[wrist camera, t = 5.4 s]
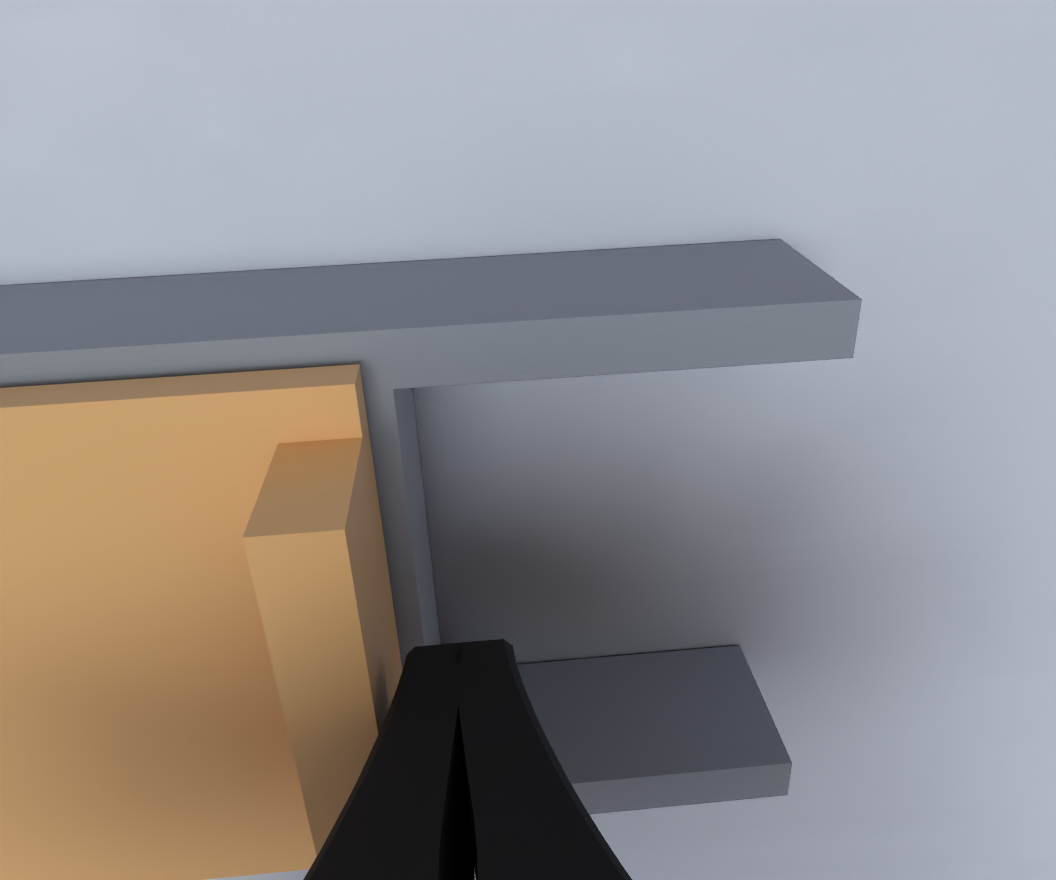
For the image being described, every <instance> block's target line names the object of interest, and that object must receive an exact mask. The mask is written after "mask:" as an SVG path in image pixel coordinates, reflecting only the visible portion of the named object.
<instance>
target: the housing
mask: <svg viewBox="0 0 1056 880" xmlns="http://www.w3.org/2000/svg"><path fill="white" fill-rule="evenodd" d="M861 301H862V299H861V298H859V297H858V296H857V295H855V294H854V293H853V292H851V291H850V290H849V289H847V288H846V287H844V286H843V285H842V284H840V283H839V282H838V281H836V280H835V279H834V278H832V277H831V276H830V275H828V274H827V273H826V272H824V271H823V270H821V269H820V268H819V267H817V266H816V265H815V264H813V263H812V262H811V261H809V260H808V259H807V258H805V257H804V256H803V255H801V254H800V253H799V252H797V251H796V250H794V249H793V248H792V247H790V246H789V245H788V244H786V243H785V242H784V241H782V240H781V239H774V240H757V241H740V242H723V243H707V244H690V245H673V246H656V247H640V248H623V249H606V250H589V251H573V252H556V253H539V254H522V255H506V256H489V257H472V258H456V259H439V260H422V261H405V262H389V263H372V264H355V265H338V266H322V267H305V268H288V269H271V270H255V271H238V272H221V273H204V274H188V275H171V276H154V277H137V278H121V279H104V280H87V281H70V282H54V283H37V284H20V285H4V286H0V388H8V387H23V386H38V385H53V384H69V383H84V382H99V381H114V380H129V379H144V378H159V377H174V376H189V375H205V374H220V373H235V372H250V371H265V370H280V369H295V368H310V367H325V366H341V365H356V364H360V371H361V379H362V386H363V393H364V400H365V407H366V414H367V421H368V429H369V436H370V443H371V450H372V457H373V464H374V471H375V479H376V486H377V493H378V500H379V507H380V514H381V521H382V529H383V536H384V543H385V550H386V557H387V564H388V571H389V579H390V586H391V593H392V600H393V607H394V614H395V621H396V629H397V636H398V643H399V650H400V657H401V664H402V670H403V667H404V663H405V659H406V655H407V654H408V653H409V652H410V651H411V650H412V649H413V648H414V647H416V646H428V645H440V644H441V643H440V634H439V625H438V616H437V607H436V598H435V589H434V580H433V571H432V562H431V553H430V544H429V535H428V526H427V517H426V507H425V498H424V489H423V480H422V471H421V462H420V453H419V444H418V435H417V426H416V417H415V408H414V399H413V390H412V388H417V387H432V386H447V385H461V384H476V383H491V382H506V381H520V380H535V379H550V378H564V377H579V376H594V375H609V374H623V373H638V372H653V371H667V370H682V369H697V368H712V367H726V366H741V365H756V364H771V363H785V362H800V361H815V360H829V359H844V358H853V354H854V347H855V340H856V334H857V327H858V321H859V314H860V307H861ZM517 666H518V670H519V673H520V676H521V679H522V682H523V684H524V687H525V690H526V692H527V695H528V697H529V700H530V702H531V704H532V707H533V709H534V711H535V714H536V716H537V718H538V720H539V723H540V725H541V727H542V729H543V731H544V733H545V735H546V737H547V739H548V741H549V743H550V745H551V747H552V749H553V751H554V753H555V755H556V756H557V758H558V760H559V762H560V764H561V766H562V768H563V770H564V772H565V774H566V776H567V777H568V779H569V781H570V783H571V784H572V786H573V788H574V790H575V792H576V793H577V795H578V797H579V798H580V800H581V802H582V803H583V805H584V807H585V808H586V810H587V812H588V813H589V814H597V813H607V812H617V811H628V810H638V809H648V808H659V807H669V806H679V805H690V804H700V803H710V802H721V801H731V800H742V799H752V798H762V797H773V796H783V795H787V793H788V786H789V780H790V773H791V766H792V762H791V760H790V757H789V755H788V753H787V751H786V748H785V746H784V744H783V742H782V739H781V737H780V735H779V733H778V730H777V728H776V726H775V724H774V721H773V719H772V717H771V715H770V713H769V710H768V708H767V706H766V704H765V701H764V699H763V697H762V695H761V692H760V690H759V688H758V686H757V683H756V681H755V679H754V677H753V674H752V672H751V670H750V668H749V665H748V663H747V661H746V659H745V657H744V654H743V652H742V650H741V648H740V645H738V646H726V647H715V648H703V649H692V650H680V651H669V652H657V653H645V654H634V655H622V656H611V657H599V658H588V659H576V660H564V661H553V662H541V663H530V664H518V665H517ZM308 871H309V869H308V870H297V871H287V872H277V873H267V874H257V875H247V876H236V877H226V878H216V879H206V880H303V879H304V877H305V876H306V874H307V872H308Z"/></svg>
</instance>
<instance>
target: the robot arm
mask: <svg viewBox="0 0 1056 880" xmlns="http://www.w3.org/2000/svg"><path fill="white" fill-rule="evenodd" d="M474 872H475V873H476V880H632V879H631V878H630V876H629V875H628V873H627V872H626V870H625V869H624V868H623V866H622V865H621V863H620V862H619V860H618V859H617V857H616V856H615V854H614V853H613V851H612V850H611V848H610V847H609V845H608V844H607V842H606V841H605V839H604V837H603V836H602V834H601V833H600V831H599V830H598V828H597V826H596V825H595V823H594V822H593V820H592V818H591V817H590V815H589V813H588V812H587V810H586V808H585V807H584V805H583V803H582V802H581V800H580V798H579V797H578V795H577V793H576V792H575V790H574V788H573V786H572V784H571V783H570V781H569V779H568V777H567V776H566V774H565V772H564V770H563V768H562V766H561V764H560V762H559V760H558V758H557V756H556V755H555V753H554V751H553V749H552V747H551V745H550V743H549V741H548V739H547V737H546V735H545V733H544V731H543V729H542V727H541V725H540V723H539V720H538V718H537V716H536V714H535V711H534V709H533V707H532V704H531V702H530V700H529V697H528V695H527V692H526V690H525V687H524V684H523V682H522V679H521V676H520V673H519V670H518V666H517V663H516V659H515V655H514V650H513V646H512V645H511V644H510V643H508V642H507V641H506V640H504V639H499V640H487V641H475V642H463V643H452V644H440V645H428V646H416V647H414V648H413V649H412V650H411V651H410V652H409V653H408V654H407V655H406V659H405V663H404V667H403V670H402V674H401V677H400V680H399V683H398V686H397V689H396V692H395V694H394V697H393V700H392V702H391V705H390V708H389V710H388V713H387V715H386V717H385V720H384V722H383V725H382V727H381V730H380V732H379V734H378V737H377V739H376V741H375V743H374V745H373V748H372V750H371V752H370V754H369V756H368V758H367V761H366V763H365V765H364V767H363V769H362V771H361V774H360V776H359V778H358V780H357V782H356V784H355V786H354V788H353V790H352V792H351V794H350V796H349V798H348V800H347V802H346V804H345V805H344V807H343V809H342V811H341V813H340V815H339V817H338V819H337V820H336V822H335V824H334V826H333V828H332V830H331V832H330V833H329V835H328V837H327V839H326V841H325V843H324V845H323V847H322V848H321V850H320V852H319V854H318V855H317V857H316V859H315V860H314V862H313V864H312V866H311V867H310V869H309V871H308V872H307V874H306V876H305V877H304V879H303V880H474Z"/></svg>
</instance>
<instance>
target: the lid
mask: <svg viewBox="0 0 1056 880" xmlns="http://www.w3.org/2000/svg"><path fill="white" fill-rule="evenodd" d="M401 674H402V664H401V657H400V650H399V643H398V636H397V629H396V621H395V614H394V607H393V600H392V593H391V586H390V579H389V571H388V564H387V557H386V550H385V543H384V536H383V529H382V521H381V514H380V507H379V500H378V493H377V486H376V479H375V471H374V464H373V457H372V450H371V443H370V436H369V429H368V421H367V414H366V407H365V400H364V393H363V386H362V379H361V371H360V364H356V365H341V366H325V367H310V368H295V369H280V370H265V371H250V372H235V373H220V374H205V375H189V376H174V377H159V378H144V379H129V380H114V381H99V382H84V383H69V384H53V385H38V386H23V387H8V388H0V880H206V879H216V878H226V877H236V876H247V875H257V874H267V873H277V872H287V871H297V870H308V869H310V867H311V866H312V864H313V862H314V860H315V859H316V857H317V855H318V854H319V852H320V850H321V848H322V847H323V845H324V843H325V841H326V839H327V837H328V835H329V833H330V832H331V830H332V828H333V826H334V824H335V822H336V820H337V819H338V817H339V815H340V813H341V811H342V809H343V807H344V805H345V804H346V802H347V800H348V798H349V796H350V794H351V792H352V790H353V788H354V786H355V784H356V782H357V780H358V778H359V776H360V774H361V771H362V769H363V767H364V765H365V763H366V761H367V758H368V756H369V754H370V752H371V750H372V748H373V745H374V743H375V741H376V739H377V737H378V734H379V732H380V730H381V727H382V725H383V722H384V720H385V717H386V715H387V713H388V710H389V708H390V705H391V702H392V700H393V697H394V694H395V692H396V689H397V686H398V683H399V680H400V677H401Z"/></svg>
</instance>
